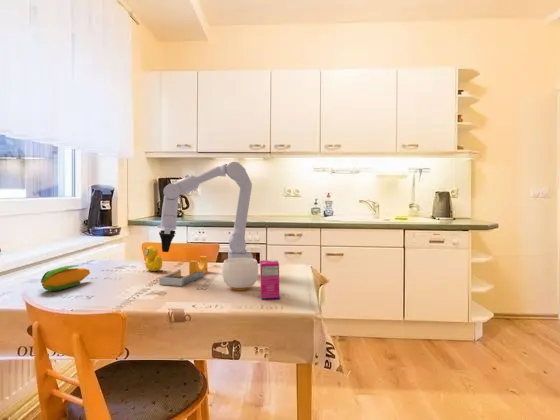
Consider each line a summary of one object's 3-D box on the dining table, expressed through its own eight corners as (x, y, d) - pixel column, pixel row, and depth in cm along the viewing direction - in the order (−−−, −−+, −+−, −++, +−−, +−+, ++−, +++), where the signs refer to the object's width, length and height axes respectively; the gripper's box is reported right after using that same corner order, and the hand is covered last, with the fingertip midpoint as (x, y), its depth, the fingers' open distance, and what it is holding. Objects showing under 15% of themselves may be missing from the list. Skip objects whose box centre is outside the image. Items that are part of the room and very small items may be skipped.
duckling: (139, 269, 172) (139, 245, 172) (151, 267, 176) (151, 244, 176) (154, 273, 165) (153, 248, 164) (165, 271, 169) (165, 247, 168)
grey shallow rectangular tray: (203, 277, 159) (203, 271, 158) (184, 286, 144) (184, 279, 144) (178, 275, 162) (178, 269, 161) (156, 284, 147) (156, 277, 147)
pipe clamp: (197, 271, 170) (197, 255, 170) (207, 271, 169) (207, 256, 169) (185, 277, 159) (185, 261, 158) (195, 278, 158) (195, 261, 157)
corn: (33, 269, 134) (80, 259, 153) (33, 292, 135) (79, 279, 154) (52, 272, 132) (97, 261, 151) (51, 296, 133) (96, 282, 152)
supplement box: (260, 295, 133) (260, 259, 133) (278, 294, 134) (278, 259, 133) (260, 300, 128) (260, 263, 127) (279, 299, 128) (280, 263, 127)
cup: (255, 283, 149) (255, 256, 149) (261, 292, 137) (261, 263, 137) (221, 285, 147) (220, 257, 146) (223, 294, 135) (223, 264, 134)
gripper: (159, 212, 165) (156, 246, 165) (157, 215, 151) (153, 252, 151) (177, 214, 167) (174, 247, 167) (177, 217, 152) (173, 254, 153)
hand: (165, 250), depth 159 cm, fingers open, 7 cm apart
